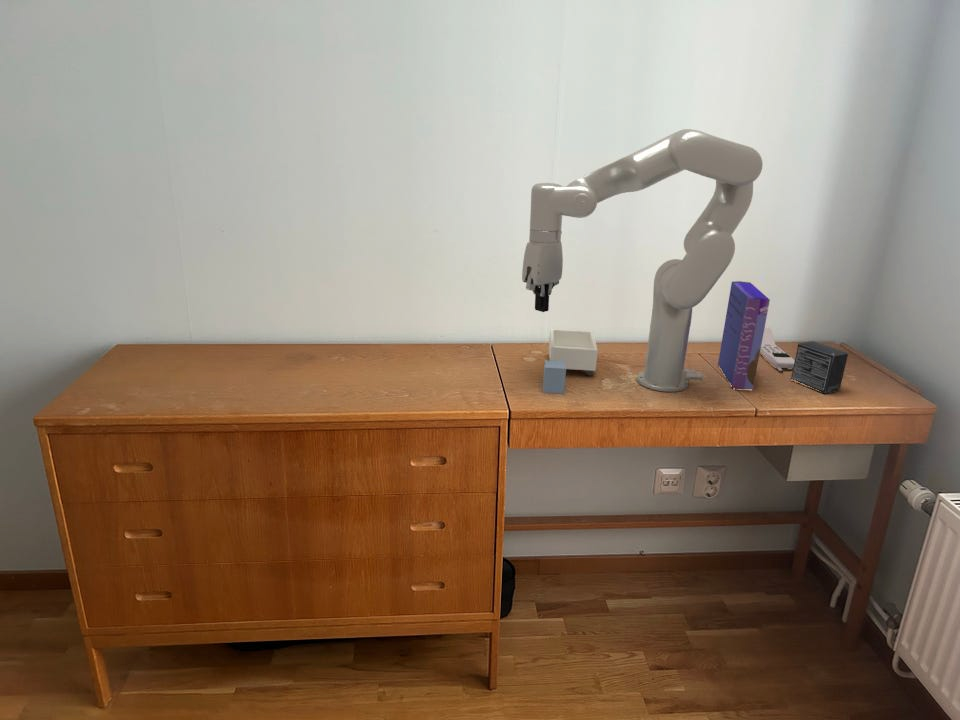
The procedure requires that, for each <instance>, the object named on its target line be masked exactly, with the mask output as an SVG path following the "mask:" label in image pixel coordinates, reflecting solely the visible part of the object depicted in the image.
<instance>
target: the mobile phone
mask: <svg viewBox="0 0 960 720" xmlns="http://www.w3.org/2000/svg"><path fill="white" fill-rule="evenodd" d="M768 327H769V328H764V333H763V339H762V344H761V349H760V352H761V353H762V354H763V355H764V356H765V357H766V358H767V359H768V360H769V361H770V362H771V363H772V364H773V365H774V366H775V367H776V368H778V369H779V370H780V371H783V372H784V369H781V368H793V367H794V362H795V358H793V357H792V355H790V354H789V353H786V352H785V351H784V350H782V349H781V348H780V347H779V346H778V345H776V343H775V339H774V336H773V330H772V328H771V327H770V326H768ZM776 368H775V369H776Z"/></svg>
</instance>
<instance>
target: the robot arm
mask: <svg viewBox="0 0 960 720" xmlns="http://www.w3.org/2000/svg"><path fill="white" fill-rule="evenodd" d="M762 169H763V159H762V156H761V154H760V153H759V152H758V151H757V150H756V149H755V148H753V147H751V146H748V145H745V144H741V143H739V142H738V143H737V142H734V141H731V140H727V139H725V138H722V137H718V136H715V135H713V134H709V133H707V132H703V131H701V130H697V129H691V128H683V129H682V130H678V131H675V132H673V133H671V134H669V135H667V136H665V137H663V138H660V139H659V140H657V141H655V142H652V143H650V144H649V145H647V146H645V147H643V148H640V149H639V150H636V151H634V152H633V153H630V154H629V155H626V156H623V157H622V158H619V159H617V160H615V161H614V162H611V163H609V164H607V165H603V166H602V167H599V168H598V169H595V170H592V171H591V172H589V173H587V174H585V175H583V176H581V177H578V178H577V179H575V180H573V181H572V182H570V183H568V184H567V185H566V186H562V185H561V184H559V183H555V182H551V183H550V182H540V183H535V184H534V185H532V188H531V195H530V215H529V216H530V220H529V238H528V239H529V240H528V241H529V242H527V243H526V245H525V251H524V255H523V260H522V272H521V280H522V282H523V283H526V285H525V289H526V290H528V291H532V293H533V295H535V297H534V310H535V311H538V312H542V313H544V312H549V307H550V296H551V294H552V291H553V289H554V287H556V286H557V285H559V284H560V280H561V279H562V275H563V269H564V268H563V266H564V265H563V264H564V263H563V262H564V261H563V260H564V259H563V257H564V256H563V246H562V245H563V244H562V241H561V240H562V233H563V232H562V225H563V224H562V222H563V216H565V217H570V218H577V219H583V218H587V217H589V216H590V215H592V214H593V213H594V212H595V210H596V208H597V205H598V204H599V203H600V202H603V201H605V200H607V199H609V198H612V197H614V196H617V195H621V194H625V193H633V192H634V193H635V192H639V191H642V190H645V189H647V188H650V187H651V186H653V185H655V184H658V183H659V182H661V181H663V180H666V179H668V178H670V177H672V176H674V175H677V174H679V173H681V172H683V171H685V170H686V171H688V172H690V173H694V174H697V175H700V176H702V177H705V178H709V179H712V180H715V189H714V192H713V195H712V198H710V200H709V201H708V203H707V205H706V207H705V208H704V209H703V211H702V212H701V214H700V215H699V216H698V218H697V219H696V221H695V222H694V224H693V225H692V226H691V228H690V229H689V230H688V231H687V233H686V234H685V237H684V240H683V248H684V251H685V253H686V254H685V255H684V257H682V259H679V258H673V259H669V260H667V261H665V262H663V263H662V264H661V265H660V266H659V267H658V269H657V270H656V272H655V276H654V279H653V290H652V291H653V292H652V293H653V296H652V299H653V300H652V310H651V316H650V317H651V318H650V319H651V320H650V325H649V333H648V340H647V341H648V342H647V349H646V356H645V364H644V370H643V371H640V372H639V373H638V374H637V376H636V378H637V382H638V383H639V385H641V386H643V387H645V388H648V389H651V390H653V391H659V392H668V393H670V392H681V391H684V390H686V389H687V388H688V386H689V381H690V380H695V381H702V380H703V372H696V370H695V369H686V367H685V364H686V357H687V352H688V351H687V350H688V343H689V337H690V330H691V323H692V318H693V317H692V316H693V308H695V307H696V306H698V305H699V304H700V303H701V302H702V301H703V300H704V299H705V298H706V296H707V295H708V294H709V293H710V291H711V290H712V289H713V288H714V286H715V285H716V283H717V282H718V281H719V279H720V278H721V277H722V275H723V274H724V272H725V271H726V270H727V268H728V267H729V266H730V264H731V262H732V260H733V258H734V255H735V250H736V244H735V240H734V237H733V233H734V232H735V230H737V228H738V227H739V225H740V224H741V221H742V220H743V219H744V217H745V216H746V214H747V212H748V210H749V208H750V206H751V203H752V200H753V194H754V182H755V181H756V180H757V179H758V178H759V176H760V175H761V173H762Z"/></svg>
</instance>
